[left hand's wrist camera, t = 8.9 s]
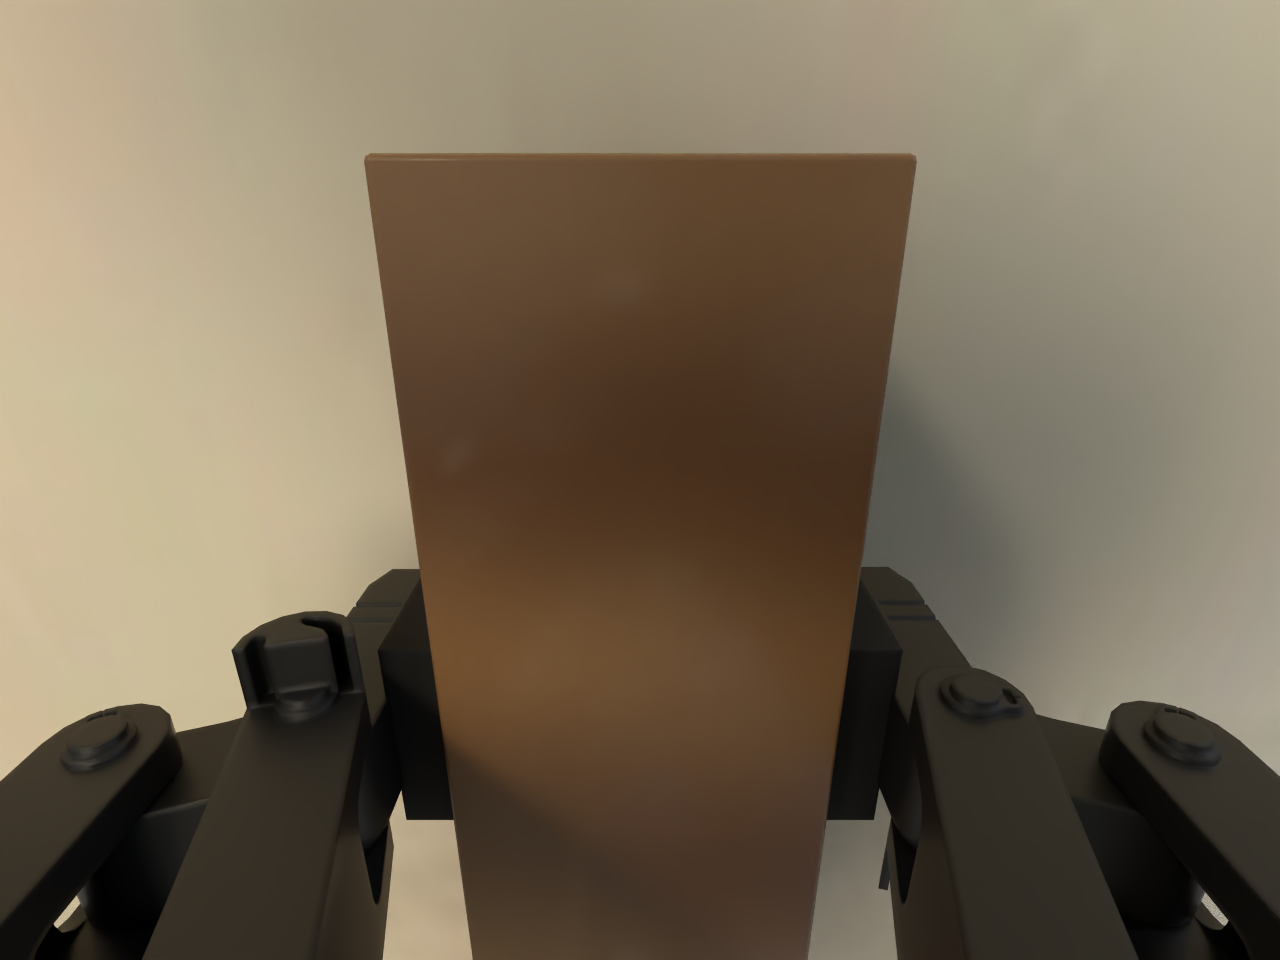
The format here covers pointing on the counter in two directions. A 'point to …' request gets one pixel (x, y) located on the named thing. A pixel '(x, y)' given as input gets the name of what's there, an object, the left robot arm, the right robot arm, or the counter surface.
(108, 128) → the counter surface
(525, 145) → the counter surface
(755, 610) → the bar
